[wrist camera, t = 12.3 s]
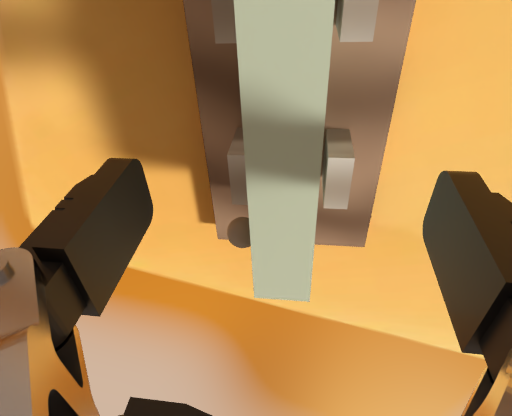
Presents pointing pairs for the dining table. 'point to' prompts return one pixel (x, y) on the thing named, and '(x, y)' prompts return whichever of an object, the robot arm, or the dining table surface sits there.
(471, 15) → the dining table surface
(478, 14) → the dining table surface
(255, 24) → the door
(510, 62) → the dining table surface
